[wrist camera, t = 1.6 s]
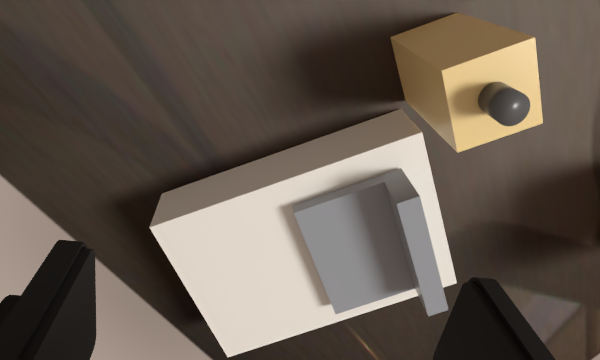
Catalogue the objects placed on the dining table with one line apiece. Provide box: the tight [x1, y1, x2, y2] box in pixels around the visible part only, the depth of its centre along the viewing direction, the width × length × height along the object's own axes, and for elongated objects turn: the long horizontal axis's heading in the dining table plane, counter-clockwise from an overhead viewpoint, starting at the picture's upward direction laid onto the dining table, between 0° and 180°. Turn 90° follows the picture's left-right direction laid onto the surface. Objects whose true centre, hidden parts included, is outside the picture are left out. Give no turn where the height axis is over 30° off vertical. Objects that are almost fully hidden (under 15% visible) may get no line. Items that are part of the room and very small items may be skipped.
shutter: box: [293, 168, 448, 316], centre depth 33 cm, size 8×10×4 cm
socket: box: [149, 109, 457, 357], centre depth 37 cm, size 20×14×5 cm
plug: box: [390, 13, 543, 153], centre depth 28 cm, size 5×5×12 cm
